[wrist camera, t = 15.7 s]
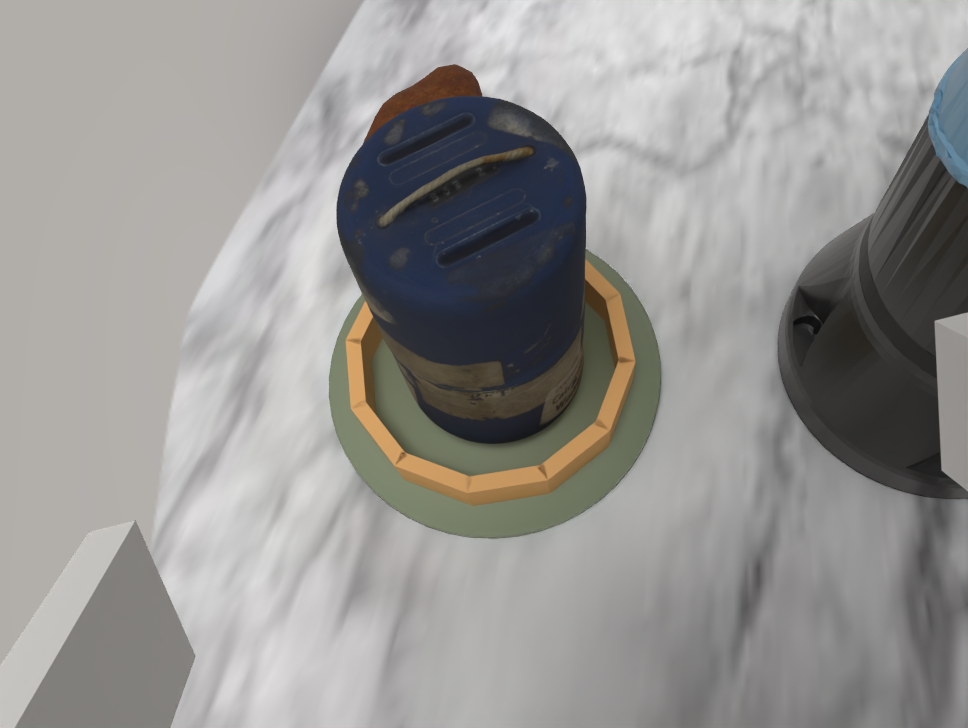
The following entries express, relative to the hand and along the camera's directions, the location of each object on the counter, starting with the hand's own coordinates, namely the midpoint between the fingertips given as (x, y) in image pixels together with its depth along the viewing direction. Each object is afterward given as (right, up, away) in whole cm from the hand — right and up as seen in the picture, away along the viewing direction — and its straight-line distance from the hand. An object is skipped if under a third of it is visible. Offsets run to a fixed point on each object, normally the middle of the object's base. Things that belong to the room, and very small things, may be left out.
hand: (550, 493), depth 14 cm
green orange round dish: (-1, +1, +33) cm, 33 cm away
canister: (0, +2, +33) cm, 33 cm away
